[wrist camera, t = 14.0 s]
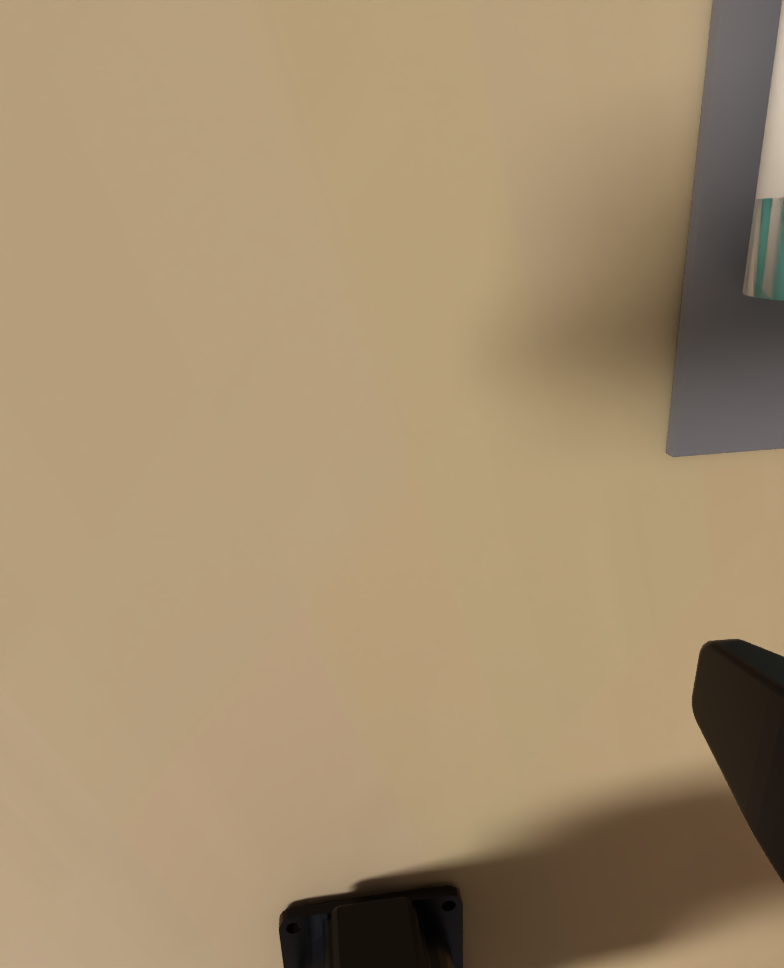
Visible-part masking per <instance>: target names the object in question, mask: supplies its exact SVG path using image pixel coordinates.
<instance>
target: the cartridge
mask: <svg viewBox="0 0 784 968" xmlns="http://www.w3.org/2000/svg"><path fill="white" fill-rule="evenodd" d="M743 294H744V295H747V296H751V297H756V298H763V299H771V300H781V301H784V0H782V5H781V13H780V20H779V27H778V35H777V42H776V50H775V57H774V64H773V72H772V79H771V86H770V94H769V101H768V108H767V116H766V123H765V131H764V138H763V145H762V153H761V160H760V167H759V175H758V182H757V190H756V197H755V204H754V212H753V219H752V226H751V234H750V241H749V248H748V256H747V263H746V271H745V278H744V285H743Z"/></svg>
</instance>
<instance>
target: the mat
mask: <svg viewBox="0 0 784 968" xmlns="http://www.w3.org/2000/svg"><path fill="white" fill-rule="evenodd" d="M781 5H782V0H713V4H712V13H711V23H710V32H709V42H708V52H707V61H706V71H705V80H704V90H703V100H702V109H701V119H700V128H699V138H698V148H697V157H696V167H695V177H694V186H693V196H692V205H691V215H690V225H689V234H688V244H687V253H686V263H685V273H684V282H683V292H682V301H681V311H680V321H679V330H678V340H677V349H676V359H675V369H674V378H673V388H672V397H671V407H670V417H669V426H668V436H667V445H666V453H667V454H668V455H670V456H672V457H680V456H693V455H705V454H718V453H731V452H743V451H756V450H769V449H781V448H784V301H781V300H771V299H763V298H756V297H751V296H747V295H744V294H743V285H744V278H745V271H746V263H747V256H748V248H749V241H750V234H751V226H752V219H753V212H754V204H755V197H756V190H757V182H758V175H759V167H760V160H761V153H762V145H763V138H764V131H765V123H766V116H767V108H768V101H769V94H770V86H771V79H772V72H773V64H774V57H775V50H776V42H777V35H778V27H779V20H780V13H781Z"/></svg>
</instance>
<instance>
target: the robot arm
mask: <svg viewBox="0 0 784 968" xmlns="http://www.w3.org/2000/svg"><path fill="white" fill-rule="evenodd" d="M692 708H693V713H694V716H695V719H696V721H697V724H698V726H699V728H700V730H701V732H702V734H703V735H704V737H705V739H706V741H707V743H708V745H709V747H710V749H711V751H712V753H713V755H714V757H715V759H716V761H717V763H718V765H719V767H720V769H721V771H722V773H723V775H724V777H725V779H726V781H727V783H728V785H729V787H730V789H731V791H732V793H733V795H734V797H735V799H736V801H737V803H738V805H739V807H740V809H741V811H742V813H743V815H744V817H745V819H746V821H747V823H748V824H749V826H750V828H751V830H752V832H753V834H754V835H755V837H756V839H757V841H758V842H759V844H760V846H761V847H762V849H763V851H764V852H765V854H766V856H767V857H768V859H769V860H770V862H771V864H772V865H773V867H774V868H775V870H776V872H777V873H778V875H779V876H780V878H781V880H782V881H783V883H784V657H783V656H781V655H778V654H776V653H773V652H771V651H768V650H766V649H763V648H761V647H758V646H756V645H753V644H751V643H748V642H746V641H743V640H740V639H727V640H715V641H708V642H707V643H705V644H704V645H703V646H702V648H701V650H700V654H699V659H698V665H697V671H696V676H695V682H694V688H693V694H692ZM279 934H280V942H281V950H282V957H283V965H284V968H463V904H462V900H461V896H460V892H459V890H458V889H457V888H456V887H454V886H441V887H434V888H427V889H420V890H413V891H406V892H399V893H392V894H384V895H377V896H370V897H363V898H356V899H349V900H342V901H335V902H328V903H321V904H314V905H307V906H300V907H293V908H289V909H286V910H285V911H283V912H282V913H281V915H280V918H279Z"/></svg>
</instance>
